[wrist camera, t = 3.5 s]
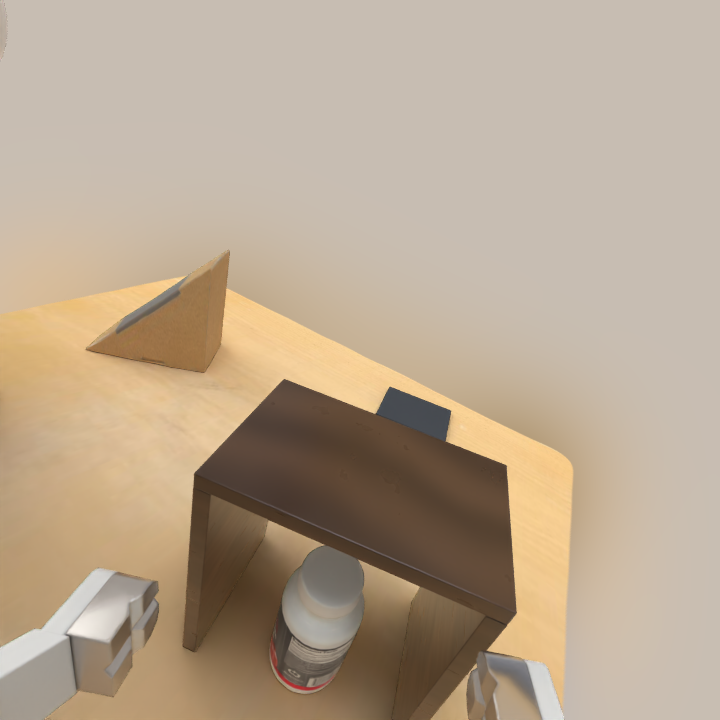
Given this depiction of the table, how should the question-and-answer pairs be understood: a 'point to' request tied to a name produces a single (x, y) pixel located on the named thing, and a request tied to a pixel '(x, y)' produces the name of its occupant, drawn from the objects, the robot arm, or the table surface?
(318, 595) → the pill bottle
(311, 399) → the arch
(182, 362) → the sandwich container
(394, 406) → the pad
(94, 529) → the table surface
